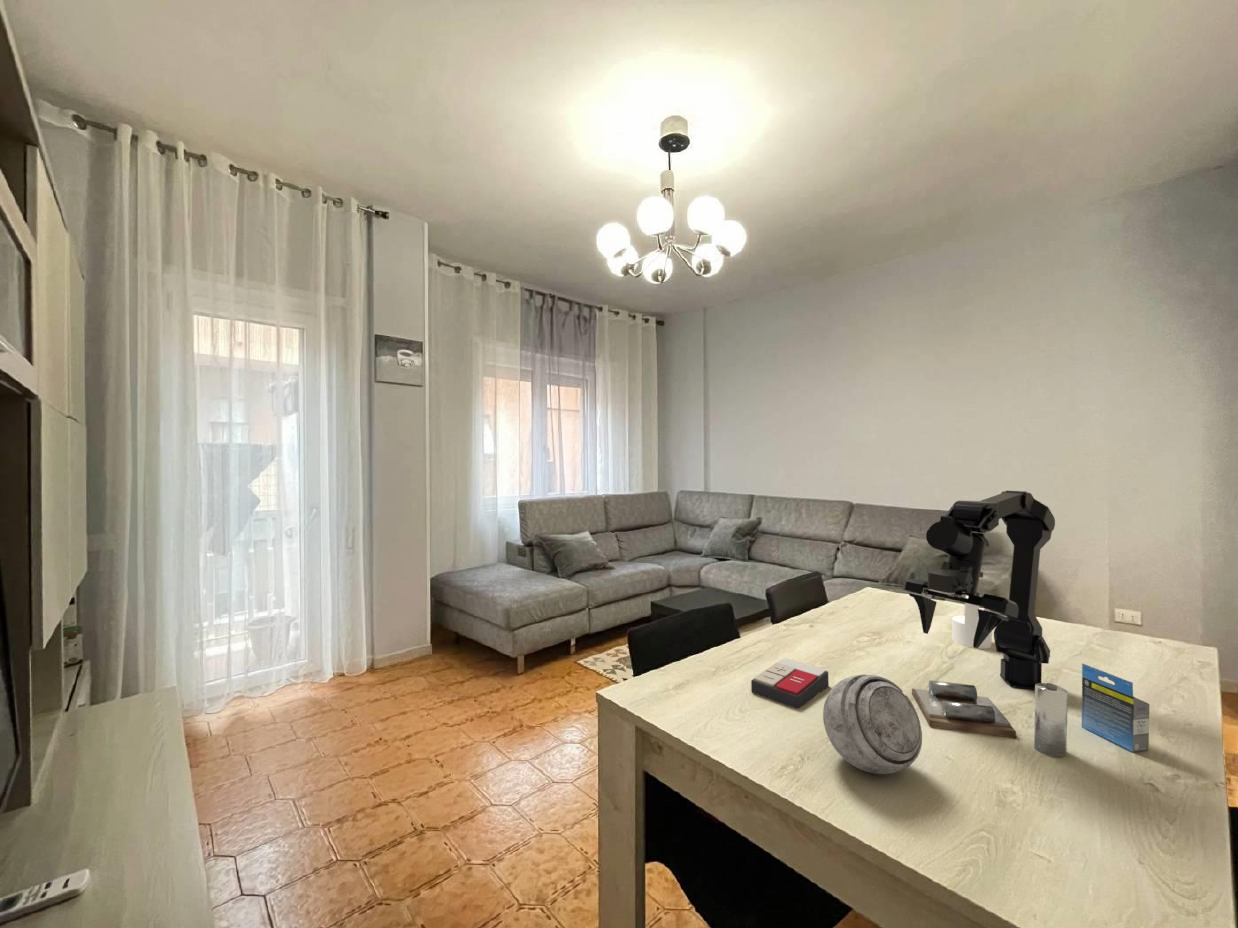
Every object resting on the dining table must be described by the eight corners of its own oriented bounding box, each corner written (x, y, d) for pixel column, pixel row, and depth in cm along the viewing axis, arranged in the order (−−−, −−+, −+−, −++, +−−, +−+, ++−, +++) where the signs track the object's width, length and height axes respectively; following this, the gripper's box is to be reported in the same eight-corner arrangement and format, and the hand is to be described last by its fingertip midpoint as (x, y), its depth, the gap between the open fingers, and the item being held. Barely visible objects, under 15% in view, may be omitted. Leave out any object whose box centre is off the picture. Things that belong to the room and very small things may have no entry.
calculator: (750, 677, 115) (783, 654, 125) (750, 696, 115) (783, 672, 126) (797, 693, 107) (829, 667, 118) (798, 713, 107) (829, 686, 118)
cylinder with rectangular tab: (953, 634, 151) (953, 592, 150) (991, 641, 145) (992, 597, 145) (950, 643, 143) (951, 600, 143) (991, 651, 138) (992, 605, 138)
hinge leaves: (986, 698, 109) (987, 684, 109) (1012, 728, 97) (1012, 712, 97) (914, 690, 113) (914, 676, 113) (930, 718, 101) (930, 702, 101)
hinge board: (987, 702, 110) (987, 697, 110) (1015, 737, 96) (1015, 731, 96) (911, 693, 114) (912, 688, 114) (929, 726, 100) (929, 720, 100)
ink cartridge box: (1150, 751, 92) (1152, 681, 92) (1132, 753, 91) (1133, 683, 91) (1096, 725, 101) (1098, 661, 100) (1079, 726, 100) (1080, 662, 100)
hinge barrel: (1058, 745, 94) (1059, 681, 93) (1071, 759, 89) (1073, 692, 89) (1029, 741, 95) (1030, 678, 95) (1041, 755, 91) (1042, 688, 90)
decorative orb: (874, 804, 78) (875, 704, 78) (804, 753, 92) (804, 668, 91) (940, 779, 84) (942, 686, 84) (866, 734, 97) (866, 654, 97)
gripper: (897, 545, 109) (881, 619, 106) (999, 561, 93) (983, 649, 90) (924, 558, 114) (910, 629, 112) (1026, 575, 98) (1011, 658, 96)
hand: (949, 640), depth 102 cm, fingers open, 9 cm apart
